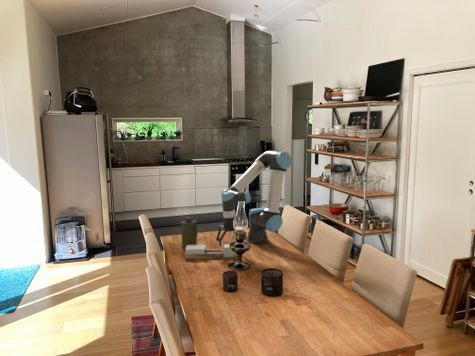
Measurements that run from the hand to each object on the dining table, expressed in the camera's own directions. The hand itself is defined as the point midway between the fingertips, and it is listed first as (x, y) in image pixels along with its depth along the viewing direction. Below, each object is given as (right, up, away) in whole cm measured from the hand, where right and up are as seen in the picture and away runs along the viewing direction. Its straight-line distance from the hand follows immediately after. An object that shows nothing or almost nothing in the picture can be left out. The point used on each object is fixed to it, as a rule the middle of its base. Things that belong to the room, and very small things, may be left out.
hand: (232, 250), depth 240 cm
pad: (-2, -3, 0) cm, 4 cm away
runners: (-18, -4, 0) cm, 18 cm away
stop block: (-2, -3, 0) cm, 4 cm away
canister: (-29, -1, +20) cm, 35 cm away
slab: (-23, -1, 0) cm, 23 cm away
